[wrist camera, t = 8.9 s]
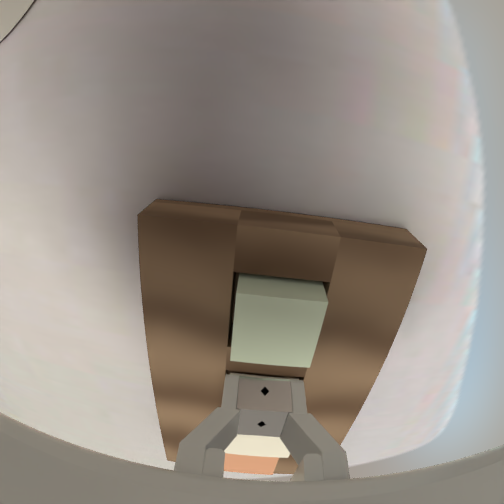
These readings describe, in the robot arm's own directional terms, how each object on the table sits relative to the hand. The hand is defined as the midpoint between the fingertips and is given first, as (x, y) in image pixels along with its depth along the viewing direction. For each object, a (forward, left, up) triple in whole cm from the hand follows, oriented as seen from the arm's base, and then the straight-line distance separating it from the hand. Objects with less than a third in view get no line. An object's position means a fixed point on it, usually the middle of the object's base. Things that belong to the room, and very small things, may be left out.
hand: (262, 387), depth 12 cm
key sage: (+1, +1, -8) cm, 8 cm away
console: (+8, +1, -9) cm, 12 cm away
